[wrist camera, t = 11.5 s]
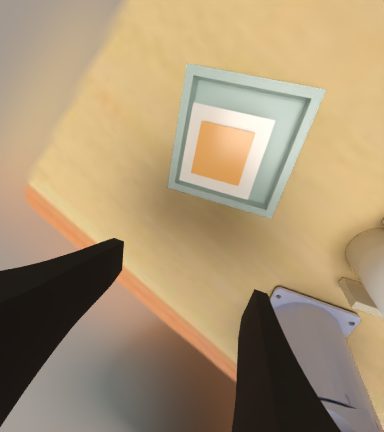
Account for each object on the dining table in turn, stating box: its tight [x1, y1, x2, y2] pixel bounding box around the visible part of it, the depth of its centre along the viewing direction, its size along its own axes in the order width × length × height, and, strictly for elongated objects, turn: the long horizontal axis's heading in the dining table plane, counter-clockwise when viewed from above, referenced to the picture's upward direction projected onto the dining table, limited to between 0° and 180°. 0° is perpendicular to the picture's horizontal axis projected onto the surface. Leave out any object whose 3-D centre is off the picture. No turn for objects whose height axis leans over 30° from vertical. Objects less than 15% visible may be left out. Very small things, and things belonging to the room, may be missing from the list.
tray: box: [167, 63, 326, 219], centre depth 16 cm, size 9×9×2 cm
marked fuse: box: [179, 102, 276, 200], centre depth 14 cm, size 4×4×7 cm
